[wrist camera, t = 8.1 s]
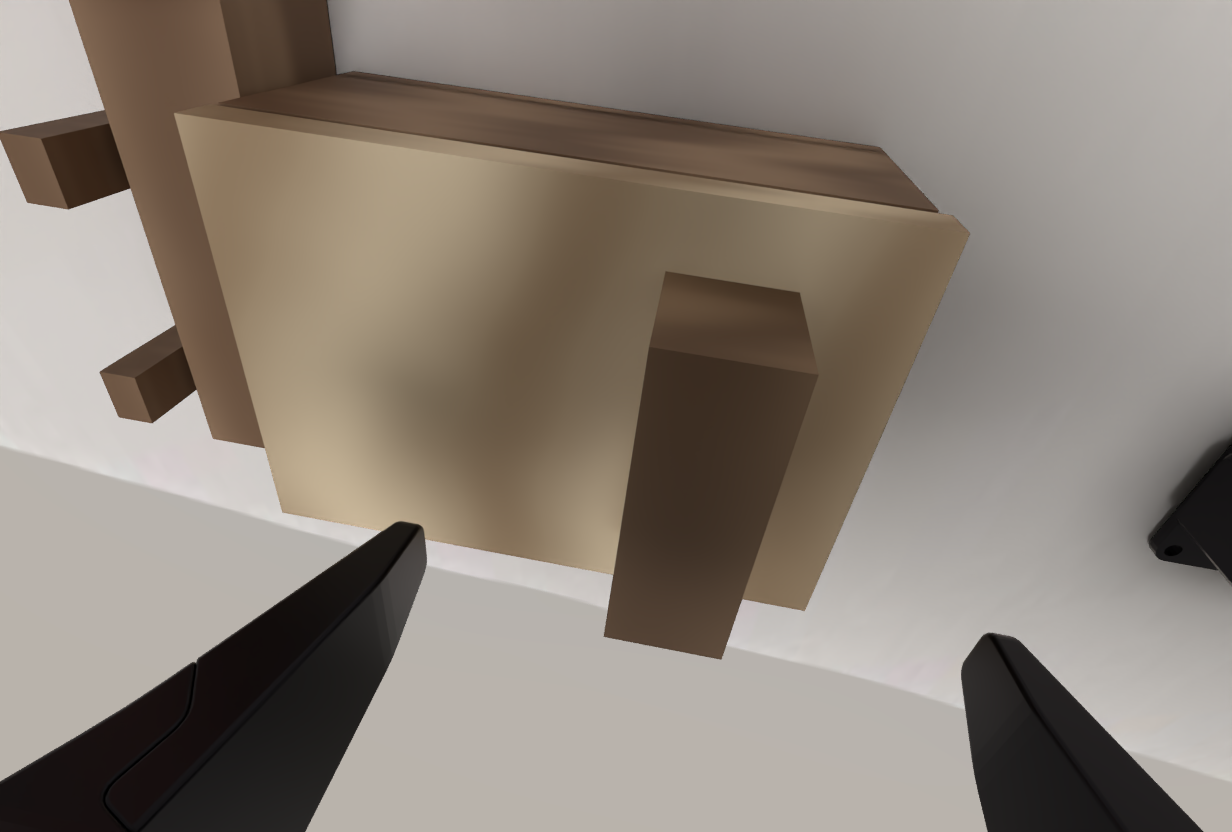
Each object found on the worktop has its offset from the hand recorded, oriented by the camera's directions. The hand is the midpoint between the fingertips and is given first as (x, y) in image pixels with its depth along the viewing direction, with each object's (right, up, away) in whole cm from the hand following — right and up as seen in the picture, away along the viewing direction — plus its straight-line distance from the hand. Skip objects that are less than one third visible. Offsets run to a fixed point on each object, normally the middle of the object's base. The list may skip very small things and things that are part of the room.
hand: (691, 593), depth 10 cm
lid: (-3, +4, +5) cm, 6 cm away
